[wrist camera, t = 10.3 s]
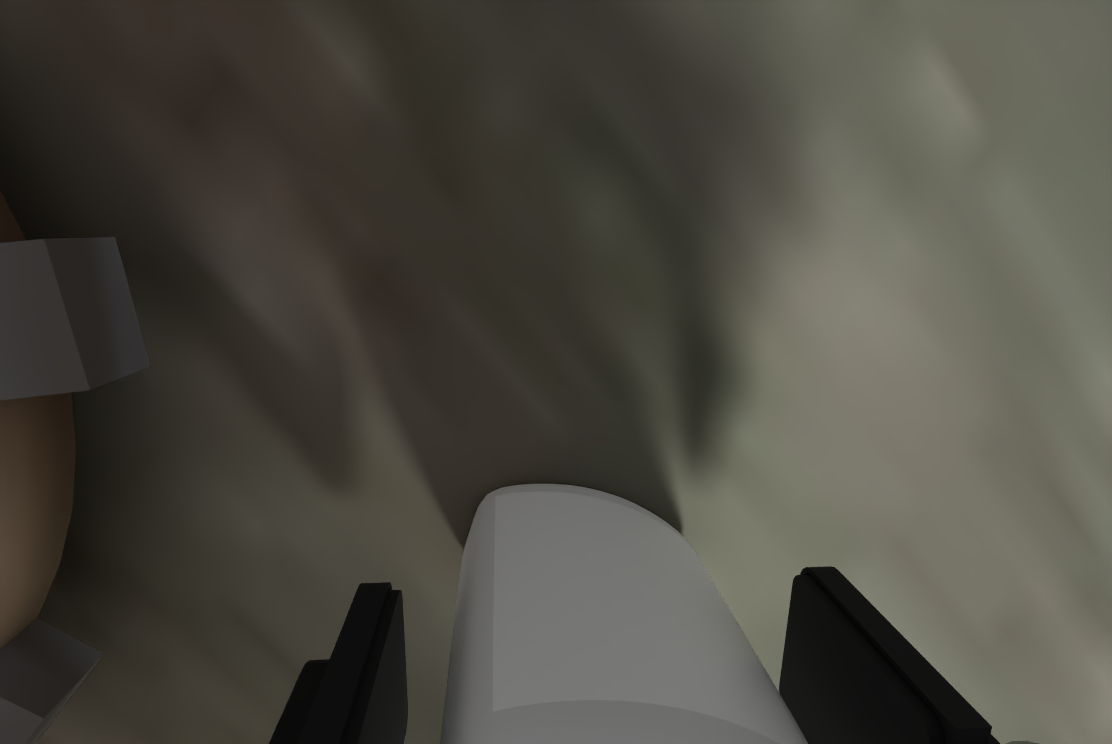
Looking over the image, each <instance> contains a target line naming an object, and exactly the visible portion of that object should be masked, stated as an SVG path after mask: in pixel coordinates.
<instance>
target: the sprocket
mask: <svg viewBox="0 0 1112 744" xmlns="http://www.w3.org/2000/svg"><path fill="white" fill-rule="evenodd" d="M150 366H151V365H150V362H149V358H148V354H147V351H146V347H145V343H144V340H143V336H142V332H141V329H140V325H139V322H138V318H137V314H136V311H135V307H134V303H133V300H132V296H131V293H130V289H129V285H128V282H127V278H126V274H125V271H124V267H123V263H122V260H121V256H120V253H119V249H118V245H117V242H116V238H115V237H95V238H56V239H37V240H26V238H25V236H24V235H23V233H22V231H21V229H20V227H19V225H18V223H17V221H16V219H15V217H14V216H13V214H12V212H11V210H10V208H9V206H8V204H7V202H6V200H5V198H4V197H3V195H2V193H1V191H0V744H34V743H35V742H36V741H37V740H38V738H39V737H40V736H41V735H42V734H43V733H44V732H45V731H46V729H47V728H48V727H49V725H50V724H51V723H52V721H53V720H54V719H55V718H56V716H57V715H58V714H59V712H60V711H61V710H62V708H63V707H64V706H65V704H66V703H67V702H68V700H69V699H70V698H71V697H72V695H73V694H74V693H75V691H76V690H77V689H78V687H79V686H80V685H81V683H82V682H83V681H84V679H85V678H86V677H87V676H88V674H89V673H90V672H91V670H92V669H93V668H94V666H95V665H96V664H97V662H98V661H99V660H100V658H101V657H102V656H103V655H104V653H102V652H100V651H98V650H96V649H94V648H93V647H91V646H89V645H87V644H85V643H83V642H81V641H79V640H77V639H76V638H74V637H72V636H70V635H68V634H66V633H64V632H62V631H60V630H58V629H57V628H55V627H53V626H51V625H49V624H47V623H45V622H43V621H41V620H39V619H38V618H37V617H38V616H39V614H40V612H41V609H42V607H43V604H44V602H45V599H46V597H47V594H48V592H49V589H50V587H51V585H52V582H53V580H54V577H55V575H56V572H57V570H58V567H59V565H60V562H61V557H62V553H63V548H64V544H65V539H66V535H67V530H68V526H69V521H70V517H71V512H72V508H73V494H74V477H75V459H76V437H75V427H74V416H73V405H72V395H71V392H80V391H89V390H92V389H95V388H97V387H100V386H102V385H105V384H107V383H110V382H112V381H115V380H117V379H120V378H122V377H125V376H127V375H130V374H133V373H135V372H138V371H140V370H143V369H145V368H148V367H150Z"/></svg>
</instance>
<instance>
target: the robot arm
mask: <svg viewBox="0 0 1112 744" xmlns="http://www.w3.org/2000/svg"><path fill="white" fill-rule="evenodd" d="M779 692H780V695H781V697H782V699H783V701H784V702H785V704H786V706H787V707H788V709H789V711H790V712H791V714H792V716H793V717H794V719H795V721H796V723H797V725H798V726H799V728H800V730H801V732H802V733H803V735H804V737H805V739H806V741H807V742H808V744H1000V743H999V742H998V741H997V740H996V739H995V738H994V737H993V736H992V735H991V734H990V733H991V729H992V726H991V725H990V724H989V723H988V722H987V721H986V720H985V719H984V718H983V717H982V716H981V715H980V714H979V713H978V712H977V711H976V710H975V709H974V708H973V707H972V706H971V705H970V704H969V703H968V702H967V701H966V700H965V699H964V698H963V697H962V696H961V695H960V694H959V693H958V692H957V691H956V690H955V689H954V688H953V687H952V686H951V685H950V684H949V683H948V682H947V681H946V680H945V678H944V677H943V676H942V675H941V674H940V673H939V672H938V671H937V670H936V669H935V668H934V667H933V666H932V665H931V664H930V663H929V662H928V661H927V660H926V659H925V658H924V657H923V656H922V655H921V654H920V653H919V652H918V651H917V650H916V649H915V648H914V647H913V646H912V645H911V644H910V643H909V642H908V641H907V640H906V639H905V638H904V637H903V636H902V635H901V634H900V633H899V632H898V631H897V630H896V629H895V628H894V627H893V626H892V625H891V623H890V622H889V621H888V620H887V619H886V618H885V617H884V616H883V615H882V614H881V613H880V612H879V611H878V610H877V609H876V608H875V607H874V606H873V605H872V604H871V603H870V602H869V601H868V600H867V599H866V598H865V597H864V596H863V595H862V594H861V593H860V592H859V591H858V590H857V589H856V588H855V587H854V586H853V585H852V584H851V583H850V582H849V581H848V580H847V579H846V578H845V577H844V576H843V575H842V574H841V573H840V572H839V571H838V570H837V569H836V568H835V567H831V566H830V567H806V568H804V569H803V570H802V571H801V574H800V575H797V576H795V577H794V580H793V585H792V592H791V600H790V608H789V615H788V623H787V630H786V638H785V646H784V653H783V661H782V668H781V676H780V684H779ZM407 717H408V700H407V680H406V660H405V640H404V619H403V599H402V591H401V590H392V586H391V583H390V582H386V583H361V584H360V585H359V587H358V589H357V591H356V594H355V596H354V599H353V602H352V604H351V607H350V609H349V612H348V614H347V617H346V619H345V622H344V624H343V627H342V630H341V632H340V635H339V637H338V640H337V642H336V645H335V647H334V650H333V652H332V655H331V657H330V659H329V660H309V661H308V662H307V663H306V664H305V665H304V667H303V669H302V671H301V673H300V675H299V677H298V680H297V682H296V684H295V686H294V689H293V691H292V693H291V695H290V698H289V700H288V702H287V704H286V707H285V709H284V711H283V713H282V715H281V718H280V720H279V722H278V724H277V727H276V729H275V731H274V733H273V736H272V738H271V740H270V742H269V744H404V739H405V733H406V727H407ZM1007 744H1038V743H1033V742H1029V741H1012V742H1009V743H1007Z"/></svg>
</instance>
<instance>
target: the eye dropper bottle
mask: <svg viewBox="0 0 1112 744" xmlns="http://www.w3.org/2000/svg"><path fill="white" fill-rule="evenodd" d="M441 744H808V742H807V741H806V739H805V737H804V735H803V733H802V732H801V730H800V728H799V726H798V725H797V723H796V721H795V719H794V717H793V716H792V714H791V712H790V711H789V709H788V707H787V706H786V704H785V702H784V701H783V699H782V697H781V695H780V694H779V692H778V690H777V689H776V687H775V685H774V684H773V682H772V680H771V679H770V677H769V675H768V673H767V672H766V670H765V668H764V667H763V665H762V663H761V662H760V660H759V658H758V656H757V655H756V653H755V651H754V650H753V648H752V646H751V645H750V643H749V641H748V640H747V638H746V636H745V634H744V633H743V631H742V629H741V628H740V626H739V624H738V623H737V621H736V619H735V618H734V616H733V614H732V613H731V611H730V609H729V608H728V606H727V604H726V603H725V601H724V599H723V598H722V596H721V594H720V593H719V591H718V589H717V588H716V586H715V584H714V583H713V581H712V579H711V578H710V576H709V574H708V572H707V571H706V569H705V567H704V566H703V564H702V562H701V561H700V559H699V557H698V556H697V554H696V552H695V551H694V549H693V547H692V546H691V544H690V543H689V542H688V541H687V540H686V539H685V538H684V537H683V536H682V535H681V534H680V533H679V532H678V531H677V530H676V529H674V528H673V527H672V526H670V525H669V524H668V523H667V522H665V521H664V520H662V519H661V518H659V517H658V516H656V515H655V514H653V513H651V512H650V511H648V510H646V509H644V508H643V507H641V506H639V505H637V504H635V503H633V502H630V501H628V500H626V499H623V498H621V497H618V496H615V495H612V494H609V493H606V492H603V491H599V490H595V489H591V488H585V487H580V486H573V485H564V484H523V485H513V486H507V487H502V488H499V489H497V490H495V491H493V492H491V493H489V494H487V495H486V496H485V498H484V499H483V500H482V502H481V503H480V505H479V506H478V508H477V511H476V514H475V516H474V519H473V522H472V525H471V529H470V532H469V535H468V538H467V541H466V544H465V548H464V551H463V555H462V560H461V569H460V577H459V585H458V594H457V603H456V611H455V620H454V628H453V637H452V645H451V654H450V663H449V672H448V681H447V690H446V699H445V708H444V717H443V726H442V735H441Z"/></svg>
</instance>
